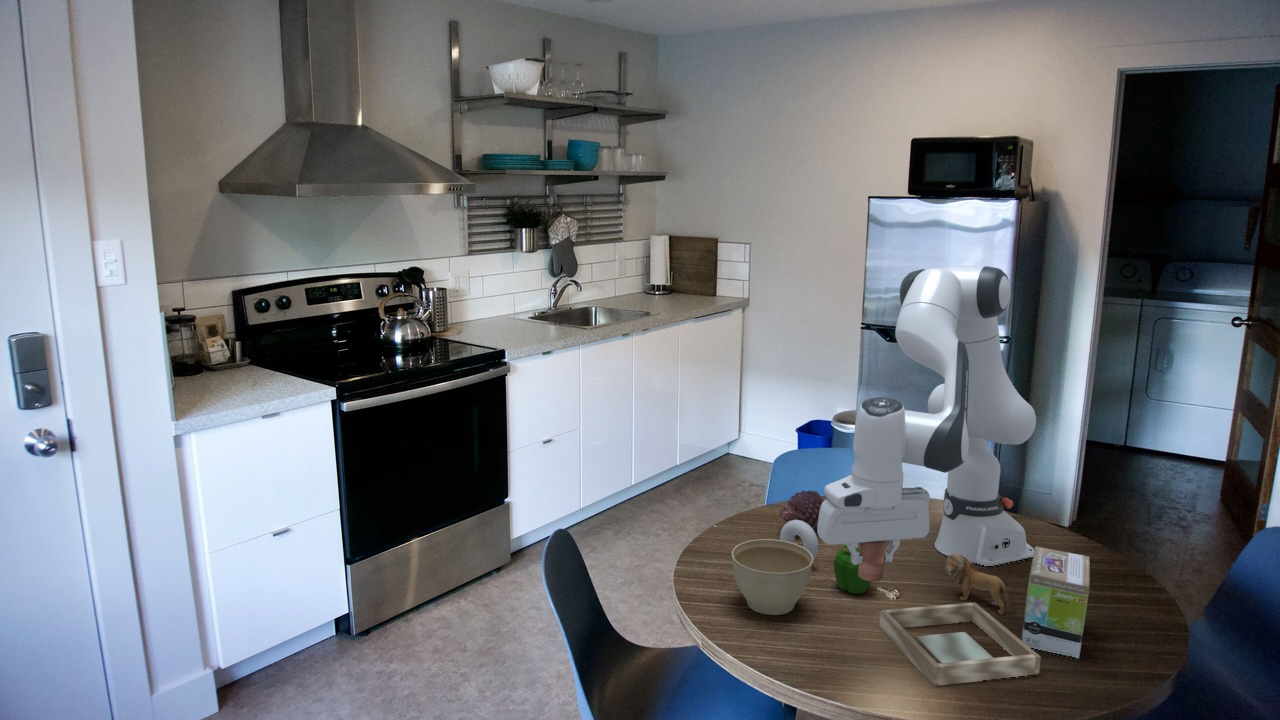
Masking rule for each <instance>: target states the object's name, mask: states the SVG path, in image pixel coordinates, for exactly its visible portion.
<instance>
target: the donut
mask: <svg viewBox="0 0 1280 720" xmlns="http://www.w3.org/2000/svg"><path fill="white" fill-rule="evenodd" d="M796 536H799V538H800V539H801V541H802V545H803V546H802V547H804V548H805V549H807V550H808V551H809V552H810V553H811V554H812V556H813V560H815V558H816V556H817V555H818V552H819V548H820V547H819V539H818V535H817V533H816V532H815V530H813V529H812V528H811V527H810V526H809V525H808V524H807V523H805V522H803V521H800V520H792V521H789V522H785V524H783V527H782V528H781V529H780V534H779V540H782V541H786V542H791V543H794V544H797V543H796V539H795V538H796Z"/></svg>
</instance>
